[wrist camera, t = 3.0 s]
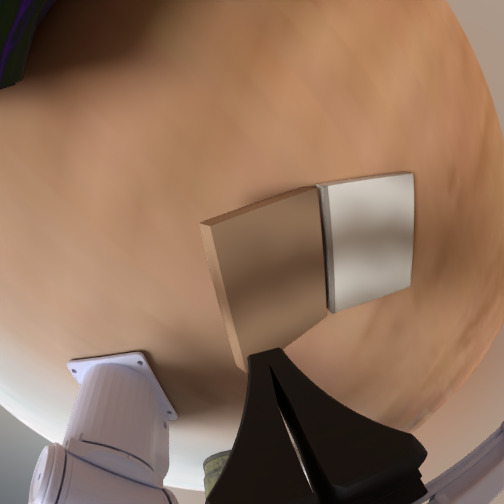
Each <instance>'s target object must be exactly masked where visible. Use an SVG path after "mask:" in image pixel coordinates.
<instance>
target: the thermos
mask: <svg viewBox="0 0 504 504" xmlns="http://www.w3.org/2000/svg"><path fill="white" fill-rule="evenodd" d="M230 453H231V450H229V451H225V452H220V453H217V454H215V455H212V456H210V457H209V458H207V459H206V460H205V461H204V463H203V467H204V471H205V478H204V487H205V494H206V498H207V496H208V495H209V493H210V492H211V490H212V488H213V487H214V485H215V483H216V482H217V480H218V478H219V476H220V474H221V472H222V470H223V468H224V466H225V464H226V462H227V460H228V458H229V455H230Z"/></svg>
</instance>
